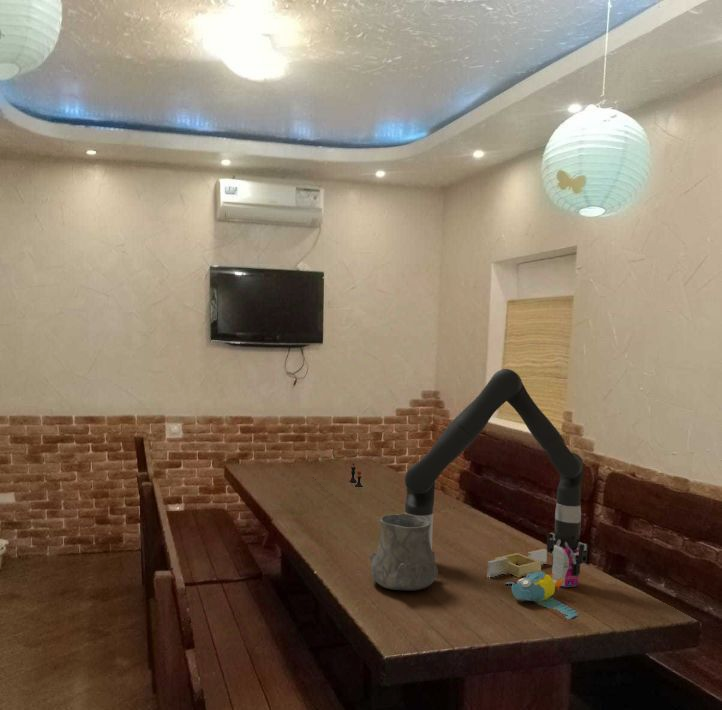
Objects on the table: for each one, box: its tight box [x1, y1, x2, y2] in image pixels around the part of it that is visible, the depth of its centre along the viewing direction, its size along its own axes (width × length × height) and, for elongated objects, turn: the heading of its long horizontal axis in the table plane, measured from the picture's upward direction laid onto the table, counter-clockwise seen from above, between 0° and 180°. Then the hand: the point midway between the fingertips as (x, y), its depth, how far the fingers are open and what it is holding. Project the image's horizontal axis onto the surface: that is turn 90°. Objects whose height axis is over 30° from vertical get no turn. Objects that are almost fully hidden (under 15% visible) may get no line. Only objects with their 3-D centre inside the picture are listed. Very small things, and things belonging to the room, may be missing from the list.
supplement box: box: [551, 544, 579, 588], centre depth 198 cm, size 6×6×12 cm
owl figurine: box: [505, 570, 580, 620], centre depth 185 cm, size 28×9×15 cm
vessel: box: [370, 513, 439, 591], centre depth 194 cm, size 22×22×20 cm
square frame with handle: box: [486, 548, 548, 579], centre depth 209 cm, size 26×10×5 cm, turn 123°
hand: (565, 571), depth 198 cm, fingers closed on supplement box, 6 cm apart
